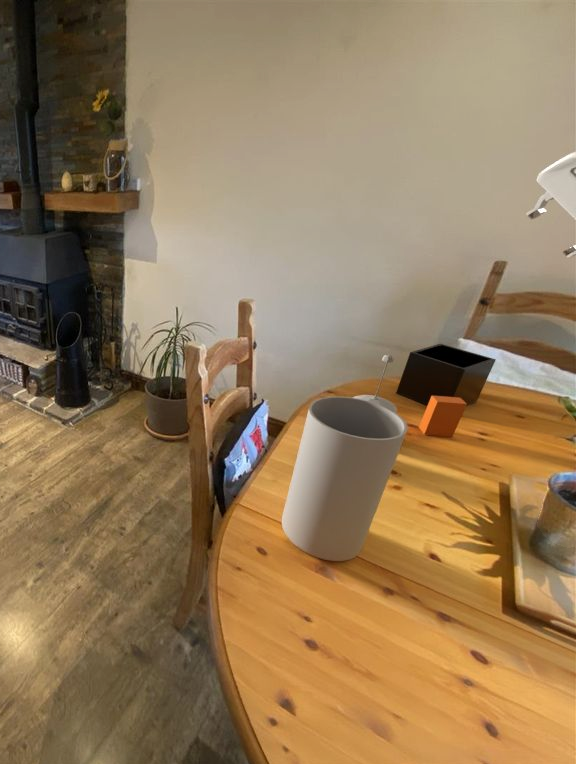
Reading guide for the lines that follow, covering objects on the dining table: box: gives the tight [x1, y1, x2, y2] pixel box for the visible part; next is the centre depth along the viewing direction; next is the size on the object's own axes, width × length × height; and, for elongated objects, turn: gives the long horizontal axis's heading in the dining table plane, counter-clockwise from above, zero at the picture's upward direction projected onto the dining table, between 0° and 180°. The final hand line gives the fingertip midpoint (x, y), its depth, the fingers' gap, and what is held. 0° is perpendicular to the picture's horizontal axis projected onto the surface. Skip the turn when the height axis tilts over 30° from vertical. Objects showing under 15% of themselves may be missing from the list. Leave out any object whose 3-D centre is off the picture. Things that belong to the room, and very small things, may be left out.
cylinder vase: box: [281, 395, 408, 562], centre depth 69 cm, size 12×12×25 cm
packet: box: [418, 396, 467, 438], centre depth 97 cm, size 6×3×9 cm, turn 73°
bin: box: [395, 343, 497, 407], centre depth 110 cm, size 12×12×13 cm
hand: (548, 235), depth 78 cm, fingers open, 8 cm apart
